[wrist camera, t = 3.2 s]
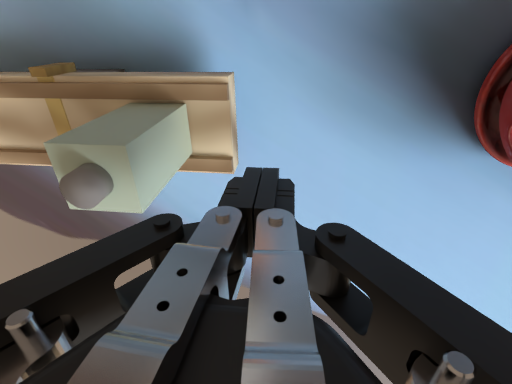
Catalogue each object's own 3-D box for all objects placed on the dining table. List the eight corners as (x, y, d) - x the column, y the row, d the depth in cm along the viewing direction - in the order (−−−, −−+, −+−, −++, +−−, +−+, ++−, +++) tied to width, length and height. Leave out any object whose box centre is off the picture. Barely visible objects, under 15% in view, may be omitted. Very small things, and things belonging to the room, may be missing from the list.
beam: (-37, 58, 26) (-164, 70, 19) (242, 57, 23) (218, 71, 16) (3, 143, 30) (-88, 180, 23) (245, 151, 27) (227, 196, 20)
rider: (130, 102, 20) (21, 153, 12) (185, 103, 19) (110, 156, 12) (141, 150, 22) (53, 222, 14) (192, 152, 21) (130, 227, 13)
